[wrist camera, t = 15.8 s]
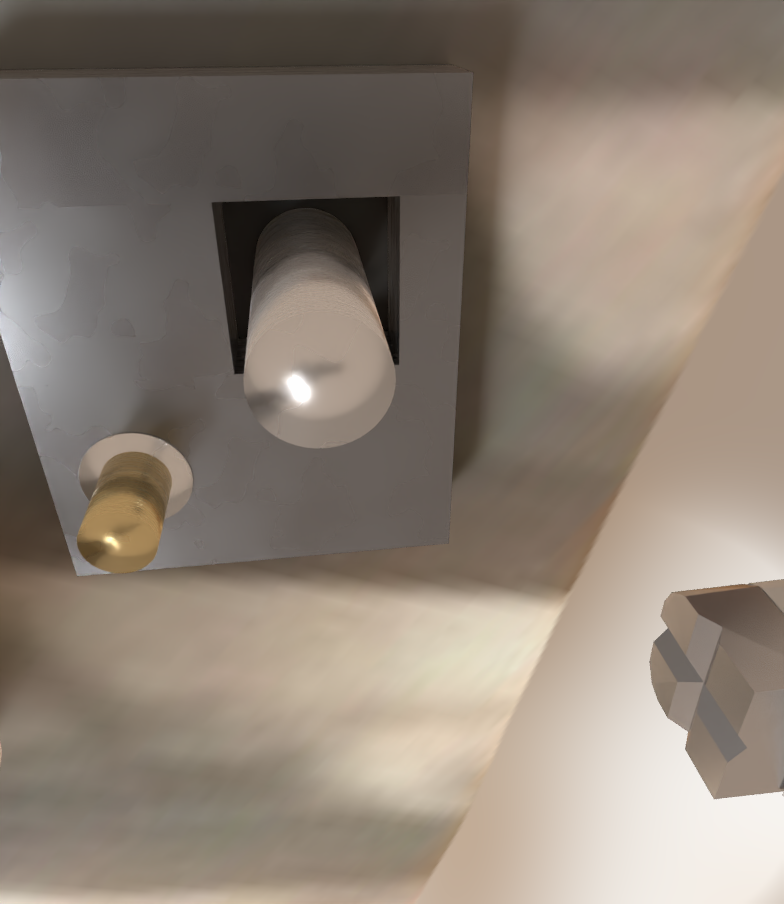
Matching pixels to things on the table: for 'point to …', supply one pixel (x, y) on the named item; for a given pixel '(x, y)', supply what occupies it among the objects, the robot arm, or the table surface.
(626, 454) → the table surface
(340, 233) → the steel peg
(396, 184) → the flange plate
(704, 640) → the robot arm
